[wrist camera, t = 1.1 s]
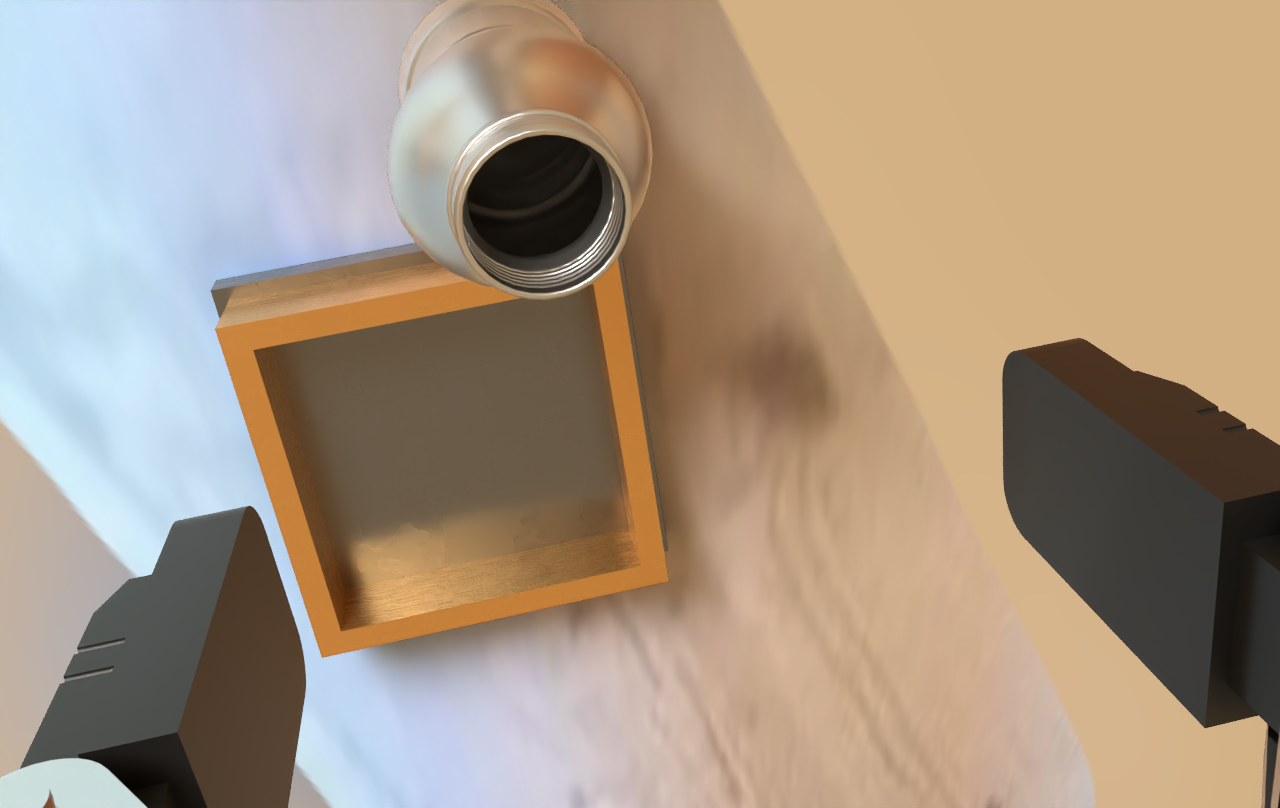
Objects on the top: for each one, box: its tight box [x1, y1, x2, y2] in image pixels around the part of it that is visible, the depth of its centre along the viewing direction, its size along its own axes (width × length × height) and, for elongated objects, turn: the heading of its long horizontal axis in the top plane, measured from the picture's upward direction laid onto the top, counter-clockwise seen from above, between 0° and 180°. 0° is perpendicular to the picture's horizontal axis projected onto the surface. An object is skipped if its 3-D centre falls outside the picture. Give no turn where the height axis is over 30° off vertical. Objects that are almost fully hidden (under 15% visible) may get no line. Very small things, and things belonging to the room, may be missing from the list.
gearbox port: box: [211, 243, 669, 658], centre depth 44 cm, size 15×15×4 cm
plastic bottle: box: [387, 0, 653, 300], centre depth 32 cm, size 6×7×20 cm
